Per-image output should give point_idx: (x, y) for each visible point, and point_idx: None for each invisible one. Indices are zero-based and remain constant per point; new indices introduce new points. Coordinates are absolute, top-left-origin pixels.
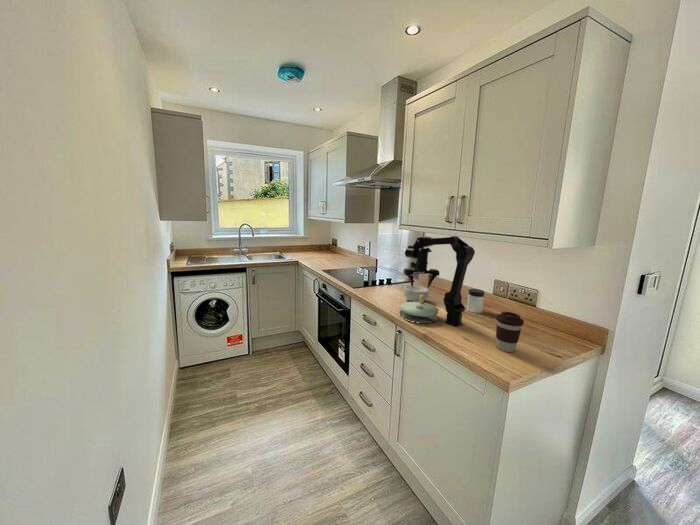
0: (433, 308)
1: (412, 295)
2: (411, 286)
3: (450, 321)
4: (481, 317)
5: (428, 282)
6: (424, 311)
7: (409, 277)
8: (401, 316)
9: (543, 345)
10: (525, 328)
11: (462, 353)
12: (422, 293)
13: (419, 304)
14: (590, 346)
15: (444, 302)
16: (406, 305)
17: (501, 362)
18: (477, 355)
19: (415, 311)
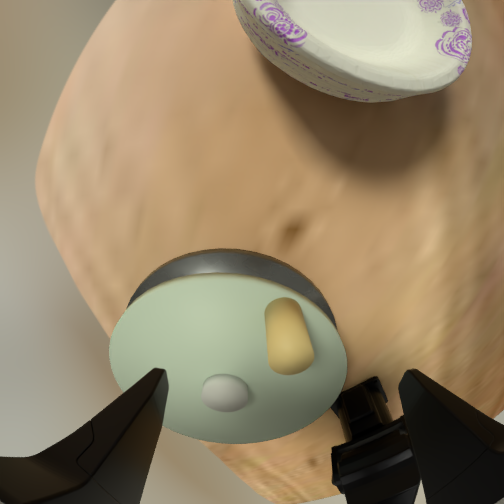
0: (315, 394)
1: (289, 65)
2: (151, 376)
3: (339, 417)
4: (493, 324)
5: (434, 424)
6: (236, 425)
7: (54, 475)
8: None
9: None
10: (501, 377)
11: (258, 487)
12: (399, 95)
13: (231, 387)
14: (496, 415)
15: (338, 472)
16: (146, 354)
17: (310, 492)
18: (284, 488)
19: (186, 423)
